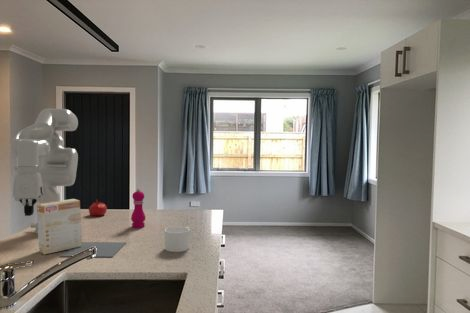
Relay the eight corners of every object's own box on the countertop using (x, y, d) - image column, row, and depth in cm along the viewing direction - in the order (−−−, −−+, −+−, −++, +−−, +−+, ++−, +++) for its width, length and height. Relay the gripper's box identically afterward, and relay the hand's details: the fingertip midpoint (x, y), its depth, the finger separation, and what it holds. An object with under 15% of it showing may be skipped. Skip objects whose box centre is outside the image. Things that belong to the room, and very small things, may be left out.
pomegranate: (103, 217, 212) (103, 201, 212) (85, 217, 213) (85, 201, 212) (109, 213, 222) (109, 198, 222) (92, 213, 222) (92, 198, 222)
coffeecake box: (75, 243, 159) (73, 198, 158) (82, 246, 154) (80, 200, 153) (38, 251, 149) (35, 203, 148) (44, 255, 144) (41, 205, 143)
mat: (60, 257, 142) (60, 256, 142) (79, 242, 161) (79, 242, 161) (112, 257, 143) (112, 256, 143) (126, 243, 162) (126, 242, 162)
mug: (178, 254, 148) (178, 234, 148) (159, 249, 154) (159, 230, 153) (199, 246, 160) (199, 227, 159) (180, 242, 165) (180, 224, 165)
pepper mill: (132, 228, 187) (132, 189, 186) (129, 225, 194) (129, 187, 193) (147, 227, 191) (147, 188, 190) (143, 224, 197) (143, 187, 196)
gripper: (4, 170, 146) (4, 216, 147) (42, 171, 146) (42, 217, 147) (15, 169, 153) (15, 213, 154) (51, 169, 154) (51, 213, 155)
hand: (29, 215), depth 151 cm, fingers closed
